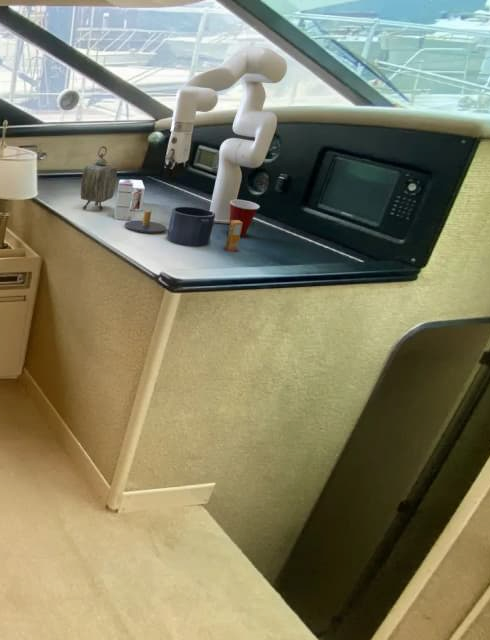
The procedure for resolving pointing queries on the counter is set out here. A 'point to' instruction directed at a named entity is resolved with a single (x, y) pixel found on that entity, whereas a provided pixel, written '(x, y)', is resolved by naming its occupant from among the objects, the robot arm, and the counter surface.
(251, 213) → the plastic cup
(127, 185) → the syrup box
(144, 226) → the lid
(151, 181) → the counter surface
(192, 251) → the counter surface
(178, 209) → the pot
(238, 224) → the supplement box
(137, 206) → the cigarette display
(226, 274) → the counter surface
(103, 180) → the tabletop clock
